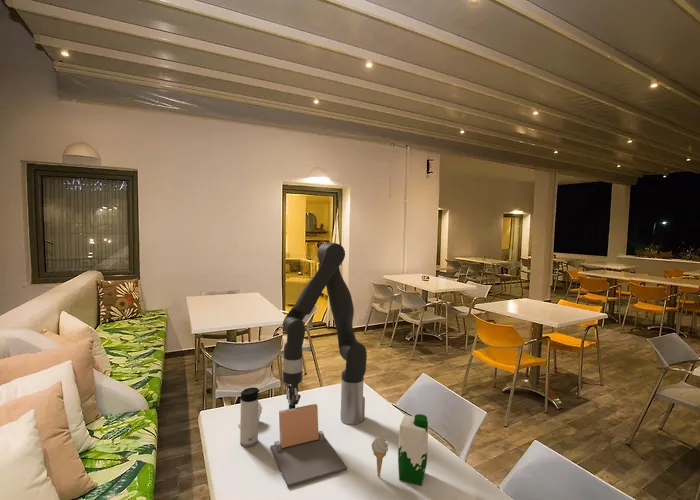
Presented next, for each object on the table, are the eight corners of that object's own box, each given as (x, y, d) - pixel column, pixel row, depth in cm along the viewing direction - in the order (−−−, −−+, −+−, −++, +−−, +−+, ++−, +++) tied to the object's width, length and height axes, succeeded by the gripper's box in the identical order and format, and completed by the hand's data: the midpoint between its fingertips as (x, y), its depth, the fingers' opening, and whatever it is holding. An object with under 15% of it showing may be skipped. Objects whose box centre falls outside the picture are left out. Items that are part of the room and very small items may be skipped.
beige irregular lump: (263, 399, 150) (246, 415, 139) (264, 418, 151) (247, 436, 140) (249, 396, 152) (232, 413, 140) (250, 415, 153) (233, 433, 142)
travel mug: (253, 448, 131) (254, 394, 130) (236, 446, 132) (237, 391, 131) (261, 439, 137) (262, 386, 136) (245, 436, 138) (245, 384, 137)
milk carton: (424, 488, 112) (426, 425, 111) (395, 481, 115) (397, 419, 114) (427, 471, 121) (430, 412, 120) (400, 465, 124) (402, 407, 123)
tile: (316, 437, 136) (315, 403, 138) (318, 439, 135) (317, 405, 136) (280, 446, 130) (279, 411, 131) (281, 448, 128) (280, 412, 130)
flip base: (322, 436, 140) (322, 427, 139) (347, 470, 120) (347, 460, 120) (270, 448, 131) (270, 439, 131) (288, 488, 111) (288, 477, 111)
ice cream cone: (369, 471, 120) (370, 427, 119) (386, 471, 120) (387, 426, 119) (371, 483, 114) (372, 436, 113) (389, 482, 115) (390, 436, 114)
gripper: (307, 373, 136) (306, 419, 137) (296, 361, 148) (296, 403, 148) (288, 376, 132) (287, 423, 133) (278, 364, 144) (277, 407, 145)
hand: (291, 412), depth 141 cm, fingers closed
